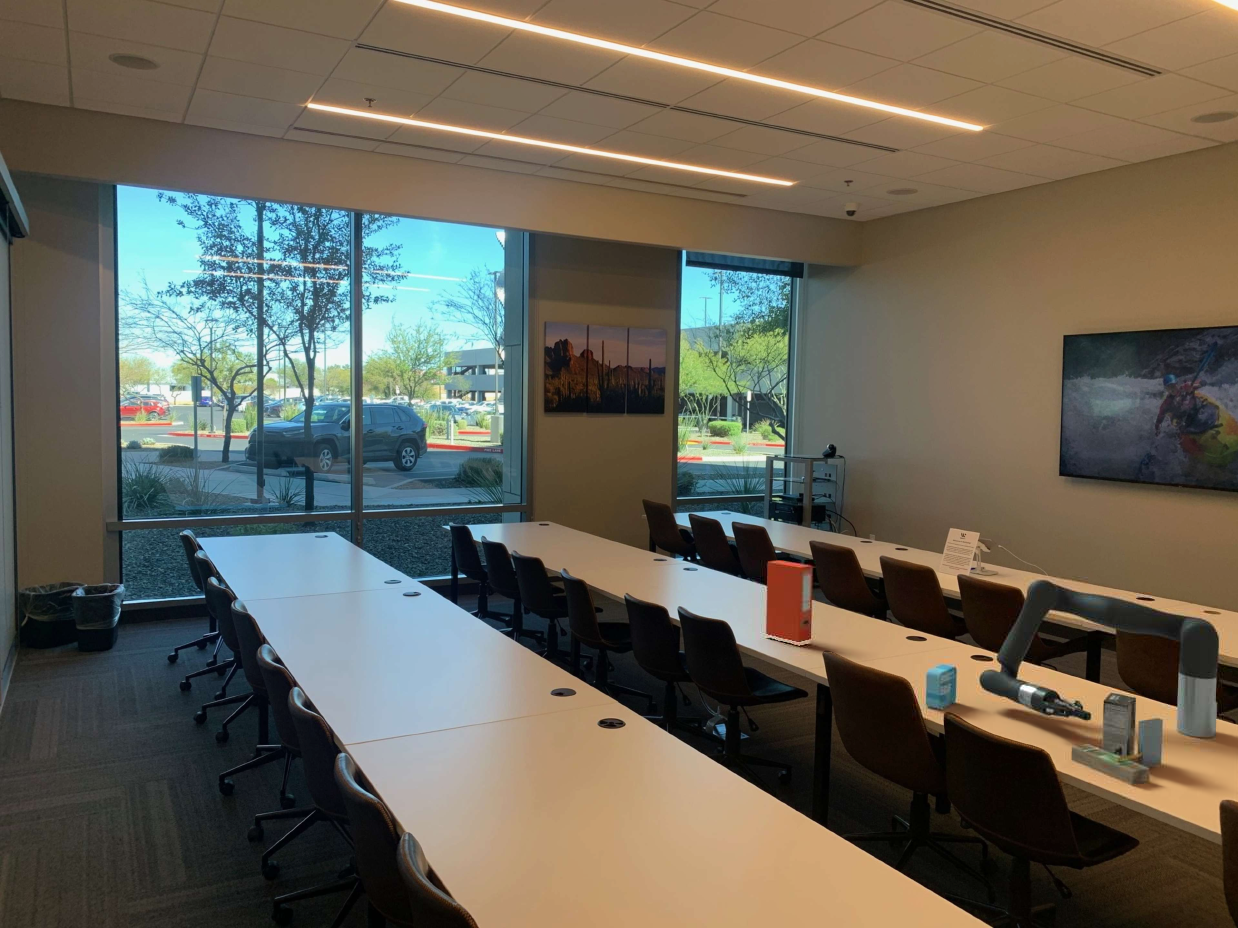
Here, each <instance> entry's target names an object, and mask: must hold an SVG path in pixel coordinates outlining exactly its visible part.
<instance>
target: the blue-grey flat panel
mask: <svg viewBox="0 0 1238 928" xmlns="http://www.w3.org/2000/svg"><path fill="white" fill-rule="evenodd" d="M1163 720H1164V719H1161V718H1158V717H1155V718H1151V719H1150V718H1149V719H1145V720H1144V719H1143V720H1139V721H1138V730H1137V731H1138V732H1137V734H1138V735H1137V752H1136V753H1134V755H1129V756H1124V757H1119V758H1115V760H1116V761H1121V760H1126V759H1130V760H1131V759H1136V758H1137V759H1136V760H1137V761H1136V763H1137V764H1140V765H1142V766H1145V767H1147V768H1152V767H1156V766H1161V765H1162V751H1163V749H1162V748H1163V747H1162V746H1163V725H1164V724H1163V722H1164V721H1163Z"/></svg>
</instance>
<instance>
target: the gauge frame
mask: <svg viewBox="0 0 1238 928" xmlns="http://www.w3.org/2000/svg"><path fill="white" fill-rule="evenodd" d="M1119 757H1120V756H1117V755H1115V754H1112V753H1110V752H1107V751H1105V750H1102V748H1099V747H1097V746H1094V745H1092V744H1089V743H1086V744H1080V745H1076V746H1075V745H1074V746H1071V761H1074V762H1076V763H1078V764H1081V765H1082V766H1086V767H1088V768H1090V769H1092V770H1095V771H1097V772H1099V773H1101V774H1102V773H1103V774H1104V775H1106V776H1109V777H1110V778H1113V777H1114V778H1113V779H1116V780H1118V779H1119V780H1118V781H1120V780H1121V782H1123V781H1124V782H1123V783H1125V782H1127V783H1129V784H1128V785H1130V784H1131V785H1130V786H1135V785H1134V784H1137V785H1140V783H1141V784H1145V783H1144V782H1146V783H1149V782H1150V767H1145V766H1142V765H1140V764H1137V762H1134V761H1131V759H1130V760H1128V759H1126V760H1121V761H1116V760H1115V758H1119ZM1127 783H1126V784H1127Z"/></svg>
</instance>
